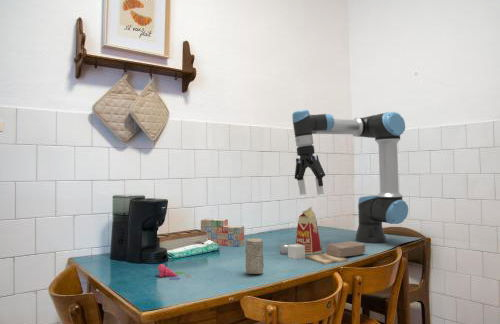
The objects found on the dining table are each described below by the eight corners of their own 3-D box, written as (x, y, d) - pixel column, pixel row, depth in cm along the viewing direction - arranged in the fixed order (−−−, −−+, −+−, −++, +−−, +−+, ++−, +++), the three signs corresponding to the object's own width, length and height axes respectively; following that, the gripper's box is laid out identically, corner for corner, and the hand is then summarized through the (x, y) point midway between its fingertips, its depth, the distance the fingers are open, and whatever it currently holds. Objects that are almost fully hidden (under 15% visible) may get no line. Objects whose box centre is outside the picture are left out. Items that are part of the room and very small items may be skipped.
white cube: (296, 255, 161) (296, 244, 161) (304, 257, 157) (304, 245, 157) (287, 257, 158) (287, 245, 158) (296, 259, 154) (296, 247, 154)
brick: (340, 257, 153) (340, 245, 153) (324, 253, 159) (325, 242, 160) (365, 254, 162) (366, 243, 162) (350, 251, 169) (350, 240, 169)
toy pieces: (161, 283, 122) (161, 269, 122) (155, 274, 132) (155, 262, 132) (197, 279, 127) (197, 266, 127) (189, 271, 137) (189, 259, 137)
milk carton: (305, 249, 174) (305, 205, 175) (322, 252, 168) (322, 207, 168) (293, 252, 168) (293, 207, 168) (310, 255, 161) (310, 208, 162)
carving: (265, 271, 135) (265, 237, 136) (261, 277, 128) (261, 241, 128) (248, 270, 137) (248, 237, 137) (243, 275, 129) (243, 240, 130)
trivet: (328, 255, 162) (328, 253, 162) (347, 260, 151) (347, 258, 151) (305, 258, 156) (305, 256, 156) (324, 264, 145) (323, 262, 145)
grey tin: (287, 252, 168) (287, 243, 168) (293, 254, 163) (293, 245, 164) (277, 253, 166) (277, 244, 166) (284, 255, 161) (284, 246, 161)
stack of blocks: (244, 244, 186) (244, 219, 187) (239, 247, 180) (239, 221, 181) (206, 241, 194) (206, 218, 195) (200, 244, 189) (200, 219, 189)
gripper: (283, 150, 174) (289, 195, 173) (314, 142, 151) (321, 195, 151) (297, 148, 177) (303, 193, 176) (329, 141, 154) (336, 192, 154)
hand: (311, 194), depth 163 cm, fingers open, 13 cm apart
